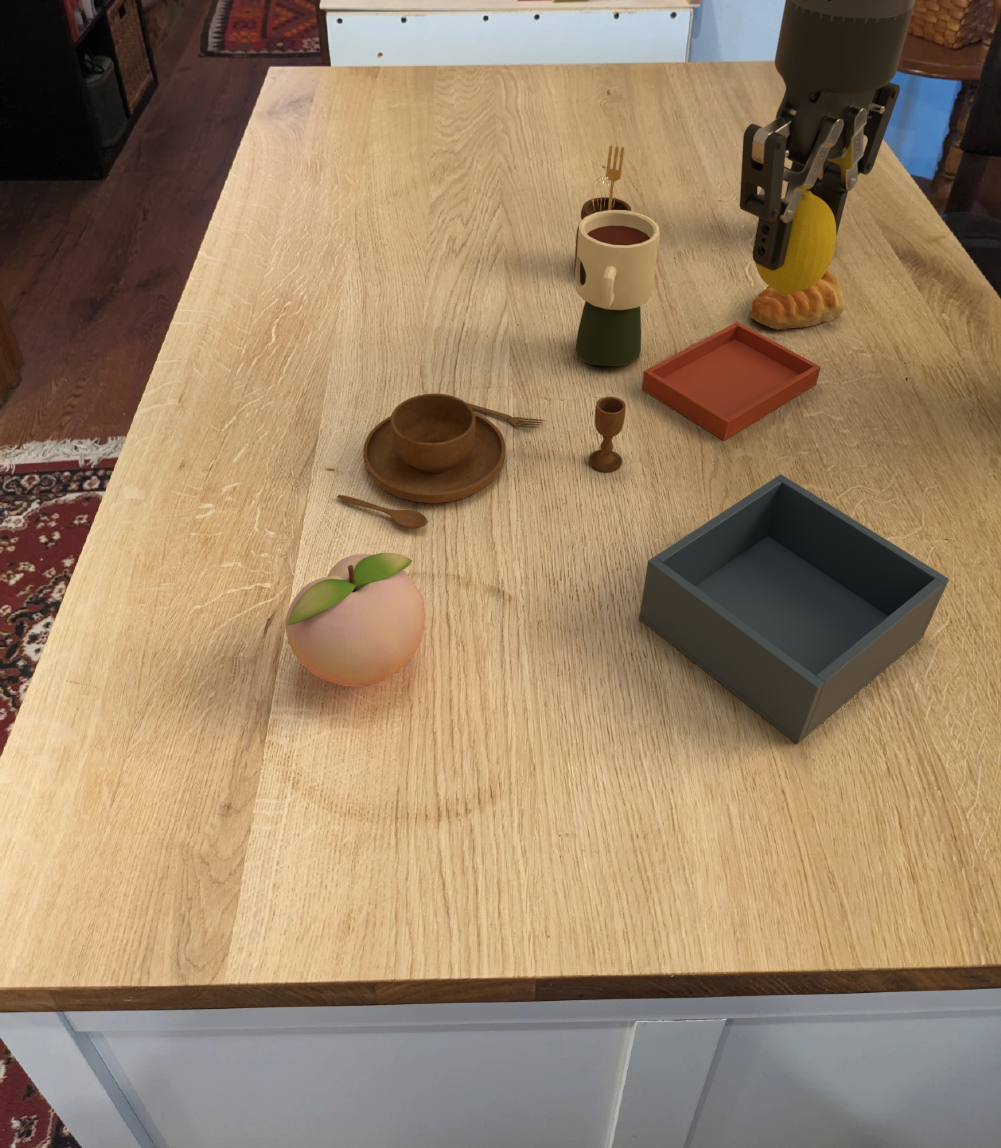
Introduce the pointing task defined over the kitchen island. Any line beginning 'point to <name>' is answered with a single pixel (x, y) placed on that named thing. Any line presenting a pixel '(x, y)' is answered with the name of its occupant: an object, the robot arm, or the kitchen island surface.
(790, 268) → the lemon
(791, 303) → the pastry
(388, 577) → the decorative fruit
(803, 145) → the robot arm
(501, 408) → the kitchen island surface
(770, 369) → the tray
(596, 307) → the character mug
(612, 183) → the utensil holder
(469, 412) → the place setting
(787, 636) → the bin
